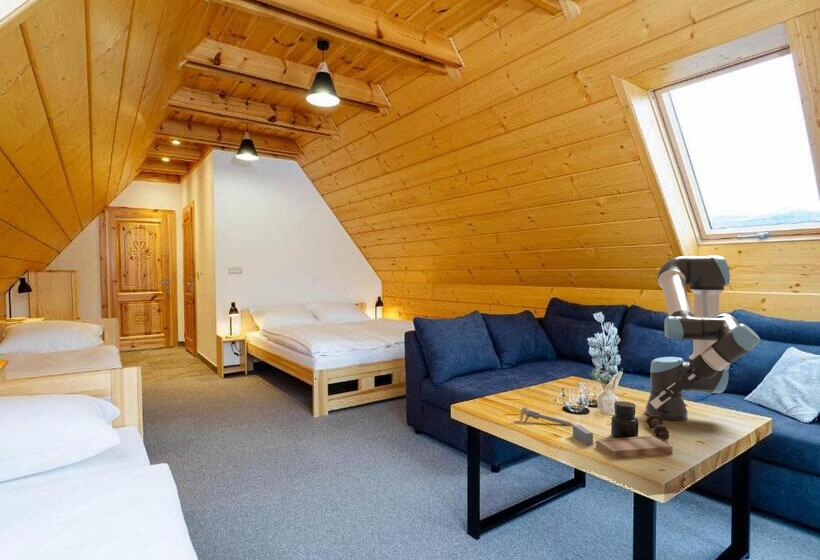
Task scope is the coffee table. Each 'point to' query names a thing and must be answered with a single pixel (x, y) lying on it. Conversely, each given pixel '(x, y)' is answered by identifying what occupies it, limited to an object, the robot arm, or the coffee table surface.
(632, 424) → the ink bottle
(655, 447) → the board
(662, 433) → the bolt
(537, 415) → the caliper
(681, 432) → the coffee table surface
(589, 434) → the block
